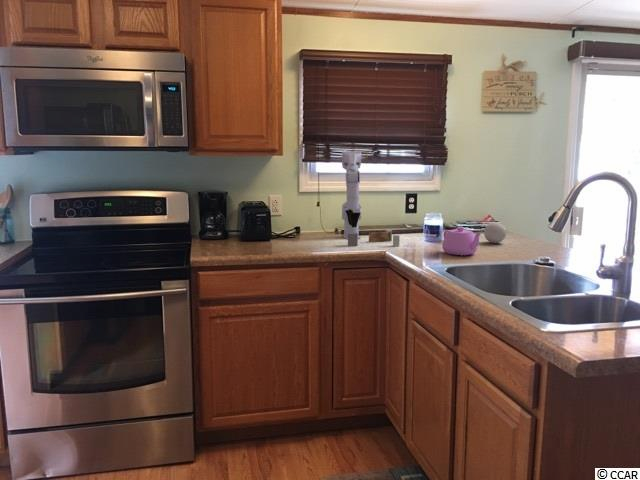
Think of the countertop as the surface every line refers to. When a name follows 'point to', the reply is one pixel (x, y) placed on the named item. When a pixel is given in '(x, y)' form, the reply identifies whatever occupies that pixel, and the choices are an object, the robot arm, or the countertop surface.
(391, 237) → the hinge post
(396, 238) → the stop wall
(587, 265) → the countertop surface
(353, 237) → the block
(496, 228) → the ball
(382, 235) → the door
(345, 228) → the robot arm
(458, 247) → the teapot
